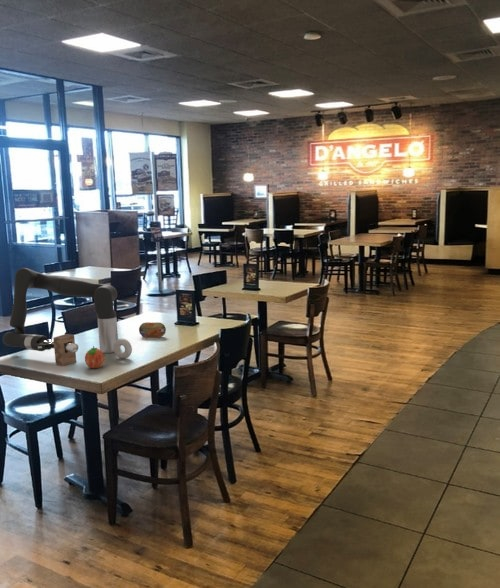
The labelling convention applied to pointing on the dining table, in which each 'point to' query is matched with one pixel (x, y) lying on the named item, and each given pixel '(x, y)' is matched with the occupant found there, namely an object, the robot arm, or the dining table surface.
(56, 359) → the wooden block
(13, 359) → the dining table surface
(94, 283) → the robot arm
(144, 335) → the tin
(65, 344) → the peg
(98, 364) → the fruit
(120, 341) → the donut
